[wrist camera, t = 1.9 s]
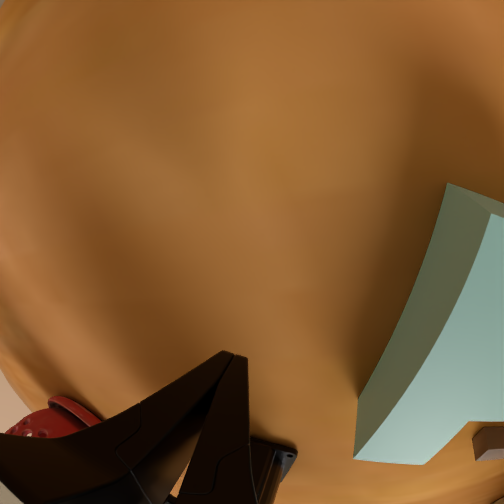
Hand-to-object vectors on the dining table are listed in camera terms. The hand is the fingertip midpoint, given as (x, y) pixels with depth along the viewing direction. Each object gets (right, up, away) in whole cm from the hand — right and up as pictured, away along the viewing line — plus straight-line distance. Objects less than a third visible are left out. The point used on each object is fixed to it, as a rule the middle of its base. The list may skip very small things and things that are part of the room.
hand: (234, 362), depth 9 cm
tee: (+13, -1, +2) cm, 13 cm away
